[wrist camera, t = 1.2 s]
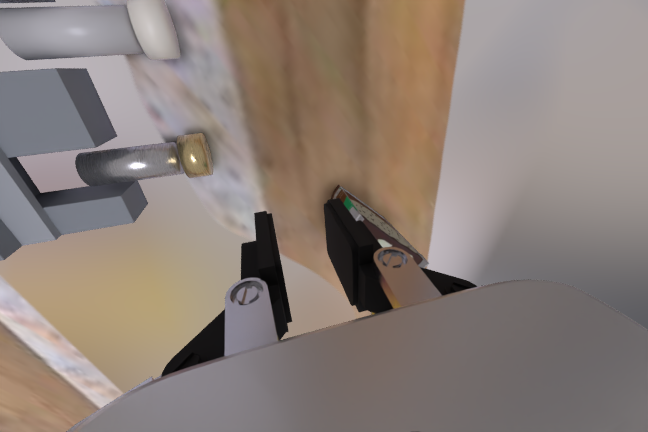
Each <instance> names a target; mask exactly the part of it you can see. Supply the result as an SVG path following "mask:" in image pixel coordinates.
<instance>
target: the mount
mask: <svg viewBox="0 0 648 432" xmlns="http://www.w3.org/2000/svg"><path fill="white" fill-rule="evenodd" d="M26 2H27V3H29V2H55V0H0V3H26ZM115 137H117V135H116V132H115V131H114V128H113V126H112V124H111V122H110V119H109V117H108V115H107V113H106V111H105V109H104V106H103V104H102V102H101V100H100V98H99V95H98V93H97V91H96V89H95V87H94V84H93V82H92V80H91V78H90V76H89V73H88V71H87V69H59V68H58V69H57V68H55V69H41V70H24V71H10V72H0V260H5V259H6V258H7V257H9V256H10V255H11V254H12V253H14V252H15V251H16V250H17V249H19V248H20V247H21V246H23V245H29V244H35V243H40V242H46V241H52V240H56V239H57V238H58V237H60V236H61V235H64V234H70V233H76V232H82V231H87V230H93V229H99V228H105V227H111V226H117V225H123V224H128V223H134V222H135V221H136V219H137V218H138V216H139V215H140V214H141V212H142V211H143V210H144V208H145V207H146V205H147V204H148V202H147V200H146V198H145V196H144V194H143V192H142V189H141V187H140V185H139V183H138V181H137V180H136V181H129V182H122V183H115V184H108V185H101V186H88V187H81V188H74V189H68V190H67V189H66V190H60V191H53V192H45V193H40V192H39V190H38V188H37V187H36V186H35V184H34V183H33V181H32V180H31V178H30V177H29V175H28V174H27V172H26V171H25V169H24V168H23V166H22V165H21V164H20V162H19V160H18V159H17V157H19V156H27V155H36V154H44V153H53V152H61V151H70V150H78V149H87V148H95V147H98V146H100V145H102V144H103V143H105V142H107V141H109V140H111V139H113V138H115Z"/></svg>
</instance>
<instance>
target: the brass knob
mask: <svg viewBox="0 0 648 432" xmlns="http://www.w3.org/2000/svg"><path fill="white" fill-rule="evenodd" d="M75 164H76V169H77V172H78V174H79V176H80V177H81V179H82V180H83V181H84V182H85V183H86V184H87V185H89V186H101V185H108V184H115V183H122V182H129V181H136V180H143V179H150V178H157V177H163V176H171V175H177V174H183V173H184V171H185V173H186V175H187V176H188V177H189V178H194V177H200V176H207V175H213V162H212V157H211V152H210V149H209V145H208V143H207V140H206V138H205V136H204V134H203V133H197V134H188V135H180V136H178V137H177V143H176V142H169V143H161V144H153V145H145V146H136V147H128V148H119V149H111V150H103V151H94V152H86V153H80V154H78V155H77V157H76V161H75Z"/></svg>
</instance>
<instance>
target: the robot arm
mask: <svg viewBox="0 0 648 432" xmlns="http://www.w3.org/2000/svg"><path fill="white" fill-rule="evenodd" d="M254 214H255V229H256V241H253V242H248V243H243V244H242V246H241V280H240V281H238V282H236V283H235V284H234V285H232V286H231V287H230V288H229V290H228V291H227V293H226V297H225V310H223V311H222V312H221V313H220V314H219V315H218V316H217V317H216V318H215V319H214V320H213V321H212V322H211V323H210V324H208V325H207V326H206V327H205V328H204V329H203V330H202V331H201V332H200V333H199V334H198V335H197V336H196V337H195V338H193V340H191V341H190V342H189V343H188V344H187V345H186V346H185V347H184V348H183V349H182V350H181V351H180V352H179V353H177V354H176V355H175V356H174V357H173V358H172V359H171V361H170V362H169V363H168V364H167V365H166V367H165V369H164V370H163V372H162V375H161V376H159V377H157V378H156V379H153V378H152V377H150V378H149V379H147V380H145V381H144V382H142V383H141V384H139V385H137V386H136V387H134V388H133V389H131V390H129V391H128V392H126V393H125V394H123V395H121V396H120V397H118V398H117V399H115V400H114V401H112V402H110V403H109V404H107V405H106V406H104V407H102V408H101V409H99V410H98V411H96V412H94V413H93V414H91V415H90V416H88V417H87V418H85V419H83V420H82V421H80V422H79V423H77V424H75V425H74V426H73V427H72V428H70V429H69V430H68V431H66V432H648V330H647V329H645V328H644V327H643V326H641V325H639V324H638V323H636V322H635V321H633V320H631V319H630V318H628V317H627V316H625V315H623V314H622V313H620V312H619V311H617V310H615V309H614V308H612V307H610V306H609V305H607V304H605V303H604V302H602V301H600V300H598V299H597V298H595V297H593V296H591V295H589V294H588V293H586V292H584V291H582V290H580V289H577V288H575V287H573V286H570V285H567V284H564V283H559V282H553V281H545V280H529V279H528V280H511V281H504V282H498V283H493V284H488V285H484V286H483V285H482V286H479V287H477V286H476V285H474V284H472V283H471V282H469V281H466V280H463V279H460V278H456V277H453V276H449V275H446V274H442V273H439V272H435V271H432V270H428V269H425V268H421V267H419V266H418V265H417V263H416V262H415V261H414V260H413V258H412V257H411V256H410V255H409V254H408V253H407V252H406V251H404V250H402V249H400V248H396V247H384V248H383V247H382V246H381V245H380V243H379V242H378V241H377V239H376V238H375V237H374V236H373V234H372V233H371V232H370V230H369V229H368V228H367V227H366V225H365V224H364V223H363V222H362V221H361V220H358V221H356V220H355V218H354V217H353V216H352V214H351V213H350V212H349V210H348V209H347V208H346V206H345V205H344V204H343V202H342V201H341V199H340V198H336V199H331V200H328V201H327V203H325V204H324V214H325V228H326V242H327V251H328V255H329V257H330V259H331V262H332V264H333V266H334V268H335V271H336V273H337V275H338V277H339V279H340V282H341V284H342V286H343V288H344V290H345V293H346V295H347V297H348V299H349V301H350V304H351V305H352V306H353V305H356V307H357V309H358V312H362V311H366V310H368V311H370V312H371V315H369V316H366V317H362V318H358V319H355V320H352V321H348V322H344V323H341V324H337V325H333V326H330V327H326V328H322V329H319V330H315V331H312V332H308V333H304V334H301V335H297V336H294V337H290V338H287V339H283V340H280V339H281V338H282V337H283V335H284V334H285V333H286V332H288V326H287V323H289V322H292V318H291V314H290V308H289V303H288V297H287V292H286V287H285V281H284V276H283V271H282V265H281V260H280V255H279V250H278V244H277V239H276V234H275V229H274V224H273V218H272V213H270V214H267V212H266V211H263V212H258V213H254Z"/></svg>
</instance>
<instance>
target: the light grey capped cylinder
mask: <svg viewBox="0 0 648 432" xmlns="http://www.w3.org/2000/svg"><path fill="white" fill-rule="evenodd" d="M0 37H1V39H2V40H3V42H4V43H5V44H6V45H7V46H8V47H9V49H10V50H11V51H13V52H14V53H15V54H16V55H17V56H19V57H21V58H23V59H25V60H38V59H56V58H72V57H90V56H107V55H124V54H141V53H143V52H145V54H146V55H147V56H148V58H149V59H151V60H165V59H180V47H179V42H178V38H177V34H176V31H175V27H174V24H173V21H172V18H171V16H170V13H169V11H168V8H167V6H166V4H165V2H164V0H127V7H126V6H125V5H105V6H67V7H66V6H65V7H29V8H28V7H27V8H0Z"/></svg>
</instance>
